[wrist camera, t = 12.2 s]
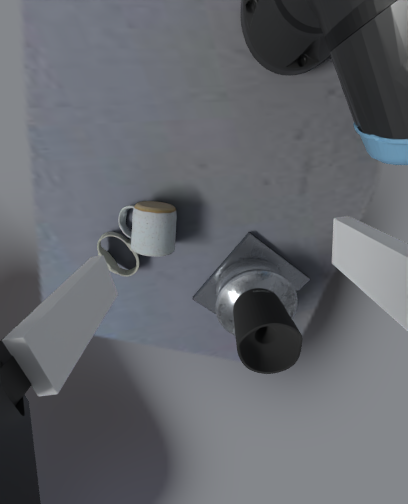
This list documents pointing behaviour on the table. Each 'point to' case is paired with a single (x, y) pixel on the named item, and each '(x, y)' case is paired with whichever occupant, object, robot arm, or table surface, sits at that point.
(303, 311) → the table surface
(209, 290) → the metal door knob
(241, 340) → the pen holder
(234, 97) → the table surface
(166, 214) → the ceramic mug
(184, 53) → the table surface
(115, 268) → the beige oval ring
